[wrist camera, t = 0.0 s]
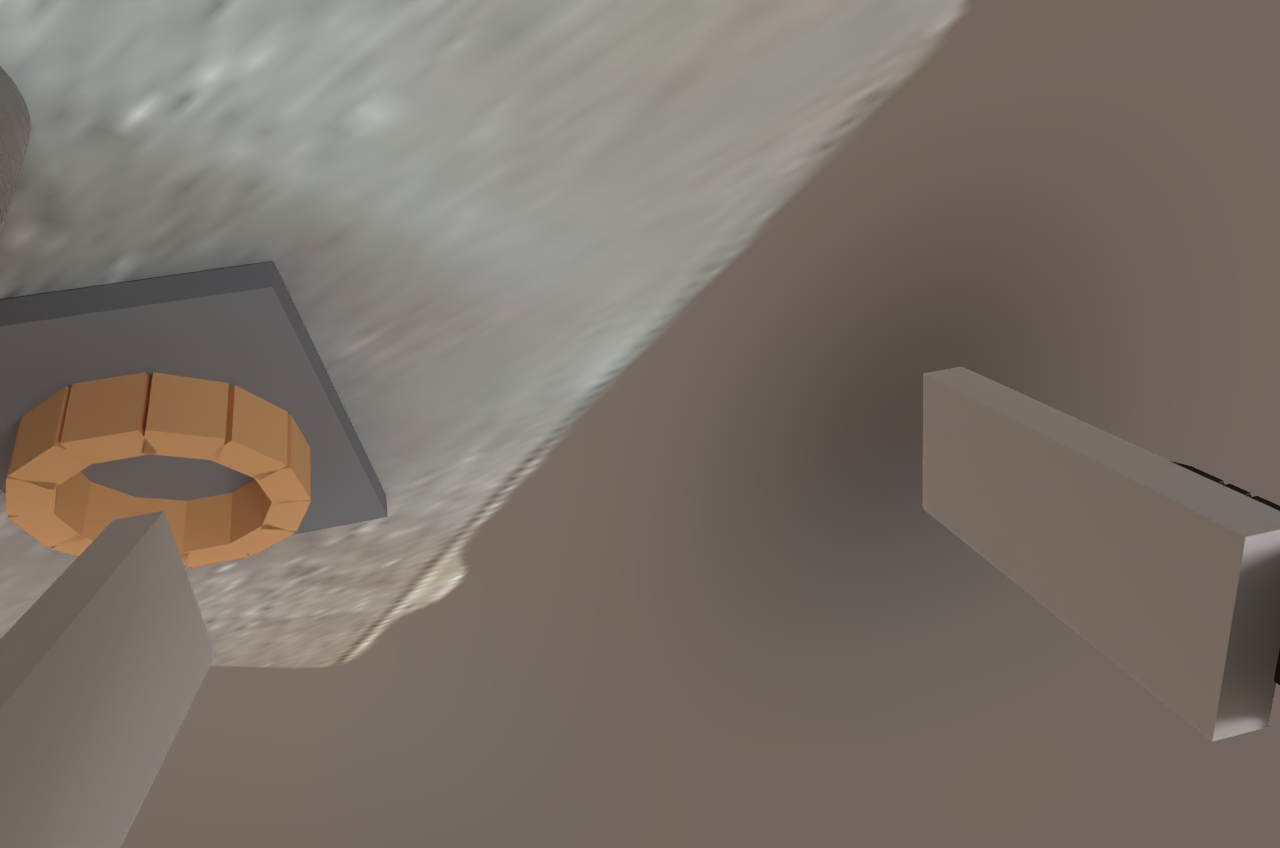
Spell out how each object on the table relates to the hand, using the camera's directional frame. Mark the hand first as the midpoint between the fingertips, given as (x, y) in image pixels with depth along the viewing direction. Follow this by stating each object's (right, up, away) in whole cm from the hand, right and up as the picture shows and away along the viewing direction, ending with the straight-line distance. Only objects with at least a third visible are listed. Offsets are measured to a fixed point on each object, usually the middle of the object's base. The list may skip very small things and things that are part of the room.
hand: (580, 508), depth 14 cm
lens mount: (-18, +1, +19) cm, 26 cm away
